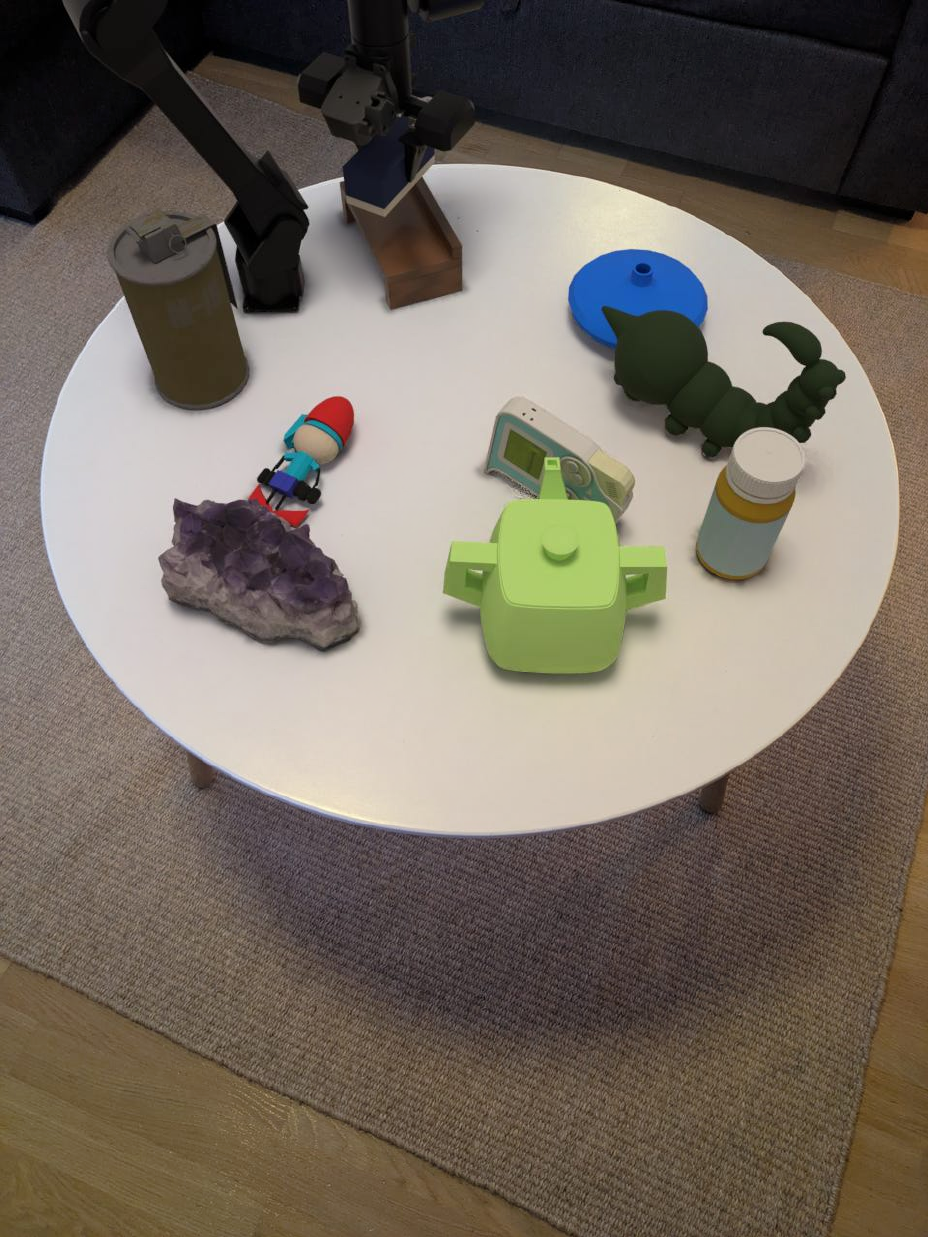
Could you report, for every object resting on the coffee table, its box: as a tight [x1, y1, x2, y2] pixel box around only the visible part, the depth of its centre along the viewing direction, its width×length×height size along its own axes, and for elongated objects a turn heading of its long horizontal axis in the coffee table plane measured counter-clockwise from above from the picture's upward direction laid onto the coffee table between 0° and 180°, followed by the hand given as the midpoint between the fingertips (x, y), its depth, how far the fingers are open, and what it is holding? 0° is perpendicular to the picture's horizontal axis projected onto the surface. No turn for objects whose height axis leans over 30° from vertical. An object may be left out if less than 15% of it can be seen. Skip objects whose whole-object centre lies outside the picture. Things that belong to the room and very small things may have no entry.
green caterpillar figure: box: [602, 306, 847, 458], centre depth 100 cm, size 9×19×25 cm
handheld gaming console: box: [483, 396, 636, 525], centre depth 98 cm, size 11×3×15 cm
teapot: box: [442, 457, 668, 674], centre depth 91 cm, size 18×20×13 cm
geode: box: [157, 497, 360, 651], centre depth 93 cm, size 20×12×10 cm, turn 65°
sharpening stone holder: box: [339, 176, 463, 311], centre depth 119 cm, size 9×18×6 cm, turn 21°
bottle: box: [695, 427, 806, 580], centre depth 92 cm, size 7×7×15 cm
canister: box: [106, 208, 250, 410], centre depth 103 cm, size 11×10×20 cm
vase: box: [567, 248, 709, 350], centre depth 113 cm, size 16×16×7 cm
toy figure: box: [248, 395, 355, 528], centre depth 103 cm, size 8×5×15 cm
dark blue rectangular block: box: [342, 116, 436, 217], centre depth 111 cm, size 11×5×4 cm, turn 151°
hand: (390, 172), depth 112 cm, fingers closed on dark blue rectangular block, 5 cm apart
